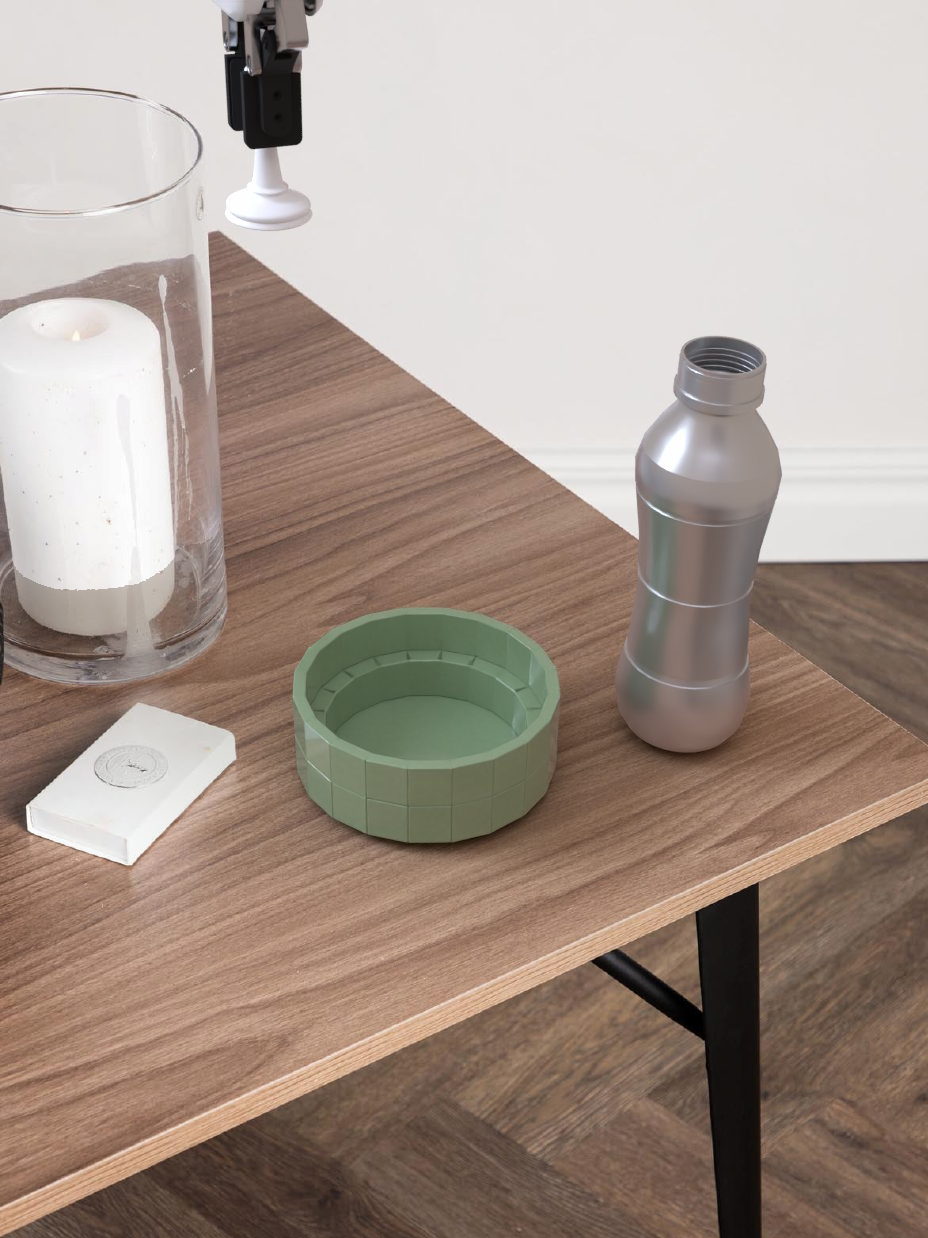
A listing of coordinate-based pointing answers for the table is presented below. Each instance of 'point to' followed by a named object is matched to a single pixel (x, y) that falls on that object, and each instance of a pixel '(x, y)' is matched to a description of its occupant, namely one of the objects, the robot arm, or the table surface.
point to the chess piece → (268, 197)
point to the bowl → (426, 724)
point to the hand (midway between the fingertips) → (265, 133)
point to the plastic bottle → (699, 550)
